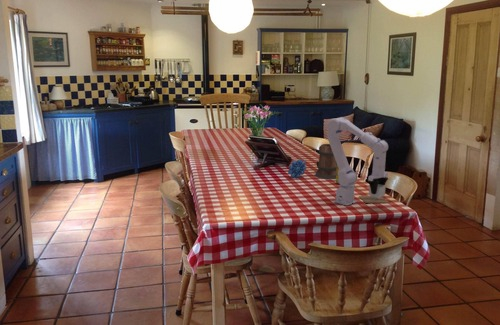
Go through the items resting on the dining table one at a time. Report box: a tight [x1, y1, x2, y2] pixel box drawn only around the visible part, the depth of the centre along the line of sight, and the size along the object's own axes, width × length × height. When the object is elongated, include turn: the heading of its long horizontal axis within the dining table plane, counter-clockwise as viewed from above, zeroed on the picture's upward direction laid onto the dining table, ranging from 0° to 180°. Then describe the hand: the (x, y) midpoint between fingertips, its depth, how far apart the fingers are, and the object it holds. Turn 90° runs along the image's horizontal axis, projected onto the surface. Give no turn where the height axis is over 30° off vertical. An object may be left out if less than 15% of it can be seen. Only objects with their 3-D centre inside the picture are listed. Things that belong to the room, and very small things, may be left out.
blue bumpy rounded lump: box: [287, 158, 308, 179], centre depth 282 cm, size 12×7×12 cm, turn 98°
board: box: [358, 195, 390, 204], centre depth 239 cm, size 12×12×4 cm
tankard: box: [314, 143, 337, 180], centre depth 289 cm, size 24×17×20 cm
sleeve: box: [368, 184, 387, 198], centre depth 224 cm, size 6×6×5 cm
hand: (376, 192), depth 224 cm, fingers closed on sleeve, 6 cm apart
